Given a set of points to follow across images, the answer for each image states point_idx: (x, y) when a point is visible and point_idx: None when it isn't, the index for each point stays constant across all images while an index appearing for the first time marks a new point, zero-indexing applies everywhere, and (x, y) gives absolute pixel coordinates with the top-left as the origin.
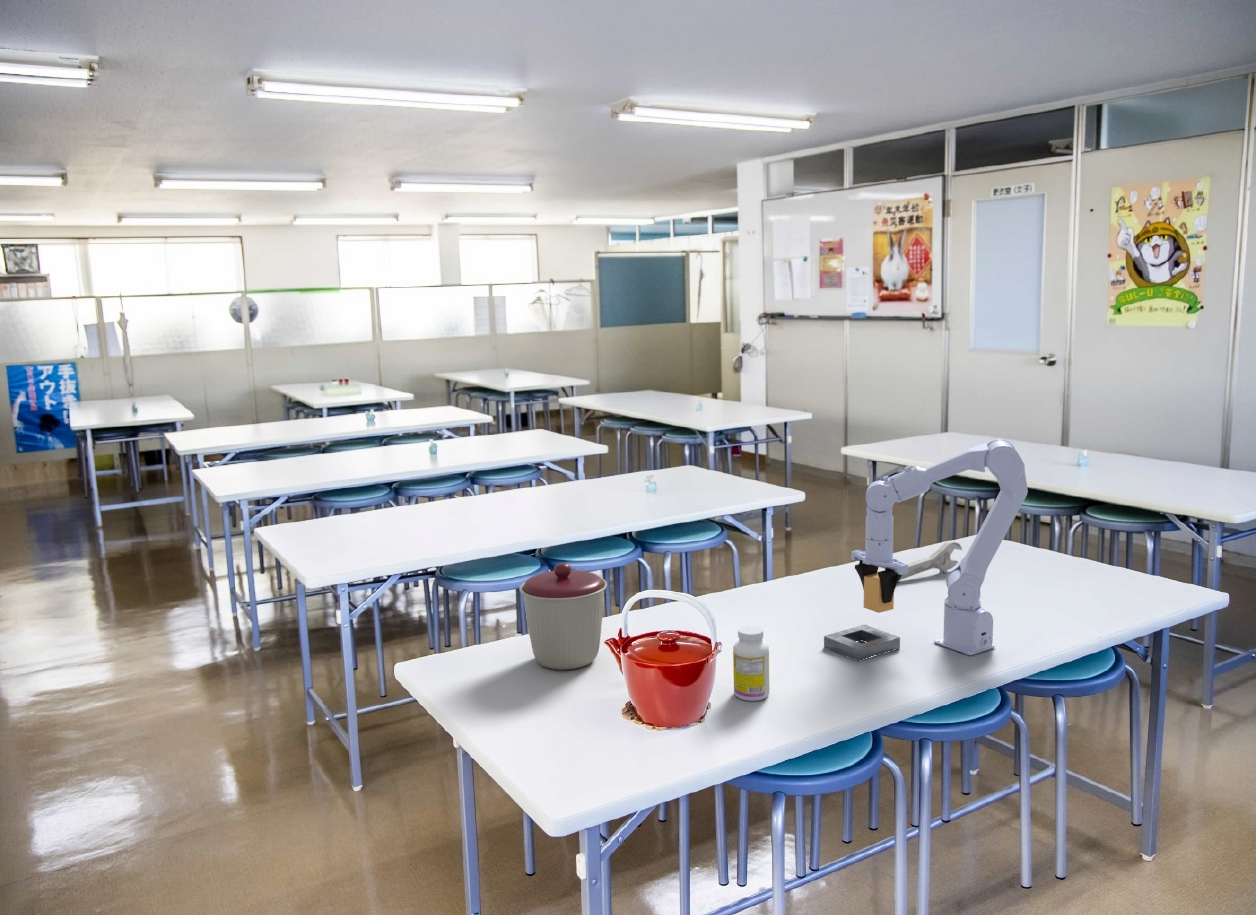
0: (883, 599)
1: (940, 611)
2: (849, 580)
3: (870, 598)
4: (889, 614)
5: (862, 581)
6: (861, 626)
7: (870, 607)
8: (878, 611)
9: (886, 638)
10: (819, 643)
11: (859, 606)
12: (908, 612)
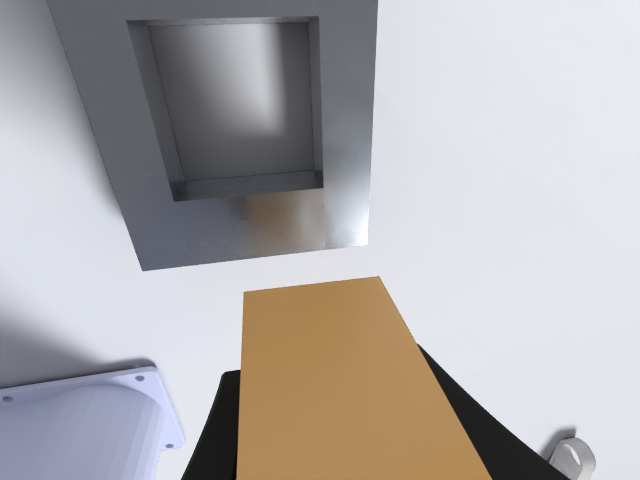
0: (224, 393)
1: None
2: (636, 418)
3: (336, 341)
4: None
5: (507, 448)
6: (357, 216)
7: (321, 293)
8: (245, 297)
9: (153, 210)
10: None
11: (530, 354)
12: None
